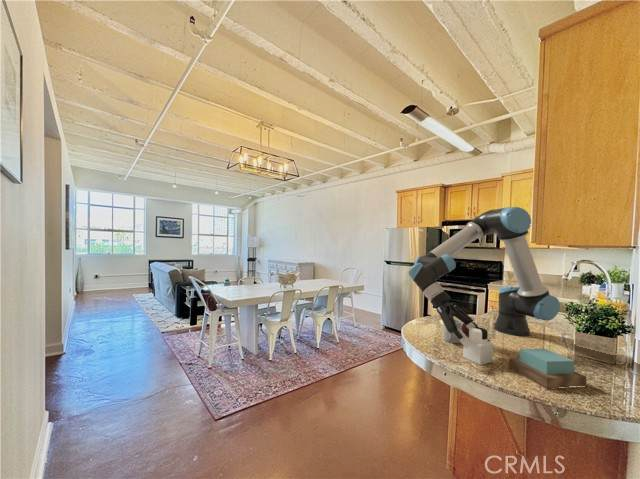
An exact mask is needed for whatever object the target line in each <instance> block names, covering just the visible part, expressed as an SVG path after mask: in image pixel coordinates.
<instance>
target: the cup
mask: <svg viewBox="0 0 640 479" xmlns="http://www.w3.org/2000/svg"><path fill="white" fill-rule="evenodd" d="M454 320H455V323H456V326H457V328H458V329H460V330H461V326H462V321H460V320H459V319H455V318H454ZM442 329H443V330H442V339H443V340H444V342H447V343H450V344H460V343H461V342H460V341H459V339H458V338H457V337H456V336H455V334H454V333H453V332H452V333H449V331H448V330H447V329H446V327H445V325H444V323H443V326H442ZM461 331H462V330H461Z"/></svg>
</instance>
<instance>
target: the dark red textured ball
mask: <svg viewBox="0 0 640 479" xmlns="http://www.w3.org/2000/svg"><path fill="white" fill-rule="evenodd" d="M472 323H473V324H474V325H475V326H476V327H479V326H478V324H477V323H476V322H475V321H472ZM461 331H462V332H463V334H464V335H465V336H466V337H467V336H468V337H469V329H468V328H467V327H466V324H465V323H463V322H462V323H461Z"/></svg>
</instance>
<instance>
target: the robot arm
mask: <svg viewBox="0 0 640 479" xmlns="http://www.w3.org/2000/svg"><path fill="white" fill-rule="evenodd" d="M531 224H532V219H531V215H530V214H529V212H528V211H527V210H526V209H525V208H522V207H519V206H507V207H502V208H497V209H496V208H495V209H490V210H487V211H485V212H482V213H481V214H479V215H478V216H476V217H475V218H473V219H471V221H469V222H467V223H466V226H465V227H463V229H460V231H458V232H457V233H455V234H454V235H452V236H451V237H450V238H448V239H447V240H445V241H443V242H442V243H441V244H439V245H438V246H436V247H434V249H431V251H429V252H428V253H425V255H420V256H417V257H416V258H415V259H414V261H413V266H412V267H411V266H410V268H409V270H408V275H409V277H410V278H411V280H412V281H413V282H414V283H415V285H416V286H417V287H418V289H420V290H421V292H422V293H423V295H424V297H425V298H427V300H428V301H430V303H431V304H432V306H433V307H434V308H435V309H436V312H437V313H438V314H439V316H440V319H441V320H442V322H443V324H444V325H445V327H446V329H447V330H448V331H449V333H452V332H453V333H454V334H455V336H456V337H457V338H458V339H459V341H460V343H461V345H462V347H463V346H464V347H465V348H467V347H469V346H470V345H472V343H471V342H470V341H469V340H468V338H469V337H467V335H465V334H464V333H463V332H462V330H460V329H458V328H457V326H456V323H455V320H456V319H457V320H459V321H461V323H462V324H463V323H465V324H466V327H467V328H468V329H469V328H470V327H476V326H475V325H474V324H473V323H472V322H474V319H473V318H472V317H471V316H470V315H469V314H468V313H467V312H465V311H464V310H462V308H460V307H459V306H458V305H457V303H455V301H453V302H450V300H451V296H450V295H449V294H448V293H447V292H446V291H445V290H444V287H443V286H441V285H440V283H439V282H438V281H437V280H439V278H442V277H443V276H445V275H447V274H448V273H450V272H452V271H453V270H455V269H456V265H457V264H456V261H455V259H454V258H453V255H455V254H456V253H458V252H460V251H461V250H462V249H464V248H465V247H467V246H468V245H470V244H471V243H473V242H475V240H477V239H478V240H479V239H482V238H484V237H485V236H487V235H492V234H496V235H497V238H498V240H499V241H501V242H502V243H503V244H504V246H505V250H506V253H507V256H508V258H509V260H510V264H511V267H512V270H513V273H514V275H515V278H516V281H517V284H518V286H500V287H499V292H498V314H497V316H496V319H495V322H494V324H493V328H494V330H495V331H498V332H500V333H503V334H506V335H507V334H508V335H511V336H518V337H519V336H520V337H527V336H531V329H530V327H529V324H528V320H527V317H530V318H534V319H536V320H541V321H545V322H546V321H551V320H553V319H554V318H556V317H557V315H558V313H559V312H560V310H561V309H560V308H561V303H560V301H559V299H558V298H557V297H556V296H554V295H551V294H550V291H549V289H548V287H546V286H545V285H543V284H542V280H541V278H540V274H539V273H538V269H537V266H536V264H535V261H534V257H533V254H532V252H531V248H530V245H529V243H528V240H527V236H528V235H529V229H531V228H530V227H531V226H532V225H531ZM455 318H456V319H455ZM454 319H455V320H454Z"/></svg>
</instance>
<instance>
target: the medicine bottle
mask: <svg viewBox="0 0 640 479" xmlns="http://www.w3.org/2000/svg"><path fill="white" fill-rule="evenodd" d="M488 334H489V332H488V330H487V329H485V328H483V327H479V326H478V327H470V328H469V336H468V337H467V338H468V340H469V341H470V342H471V343H472V345H470V346H469V347H467V348H465V347H464V346H463V345H462V348H463V349H462V358H463V359H466V360H468V361H470V362H473V363H475V364H477V365H479V366H482V365H485V364H490V363H493V355H494V354H493V353H494V343H492V342H491V341H488V338H489V337H488Z"/></svg>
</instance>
